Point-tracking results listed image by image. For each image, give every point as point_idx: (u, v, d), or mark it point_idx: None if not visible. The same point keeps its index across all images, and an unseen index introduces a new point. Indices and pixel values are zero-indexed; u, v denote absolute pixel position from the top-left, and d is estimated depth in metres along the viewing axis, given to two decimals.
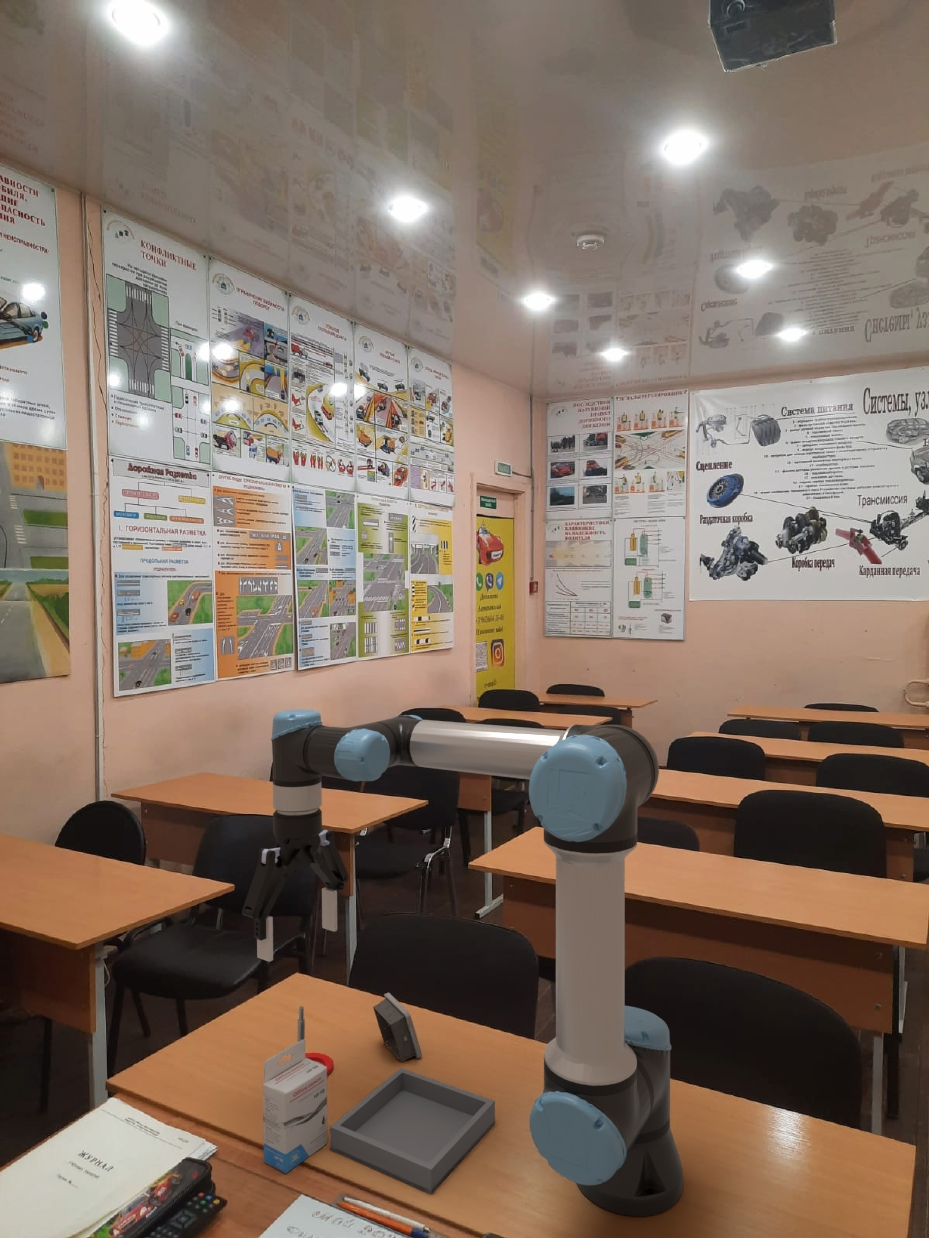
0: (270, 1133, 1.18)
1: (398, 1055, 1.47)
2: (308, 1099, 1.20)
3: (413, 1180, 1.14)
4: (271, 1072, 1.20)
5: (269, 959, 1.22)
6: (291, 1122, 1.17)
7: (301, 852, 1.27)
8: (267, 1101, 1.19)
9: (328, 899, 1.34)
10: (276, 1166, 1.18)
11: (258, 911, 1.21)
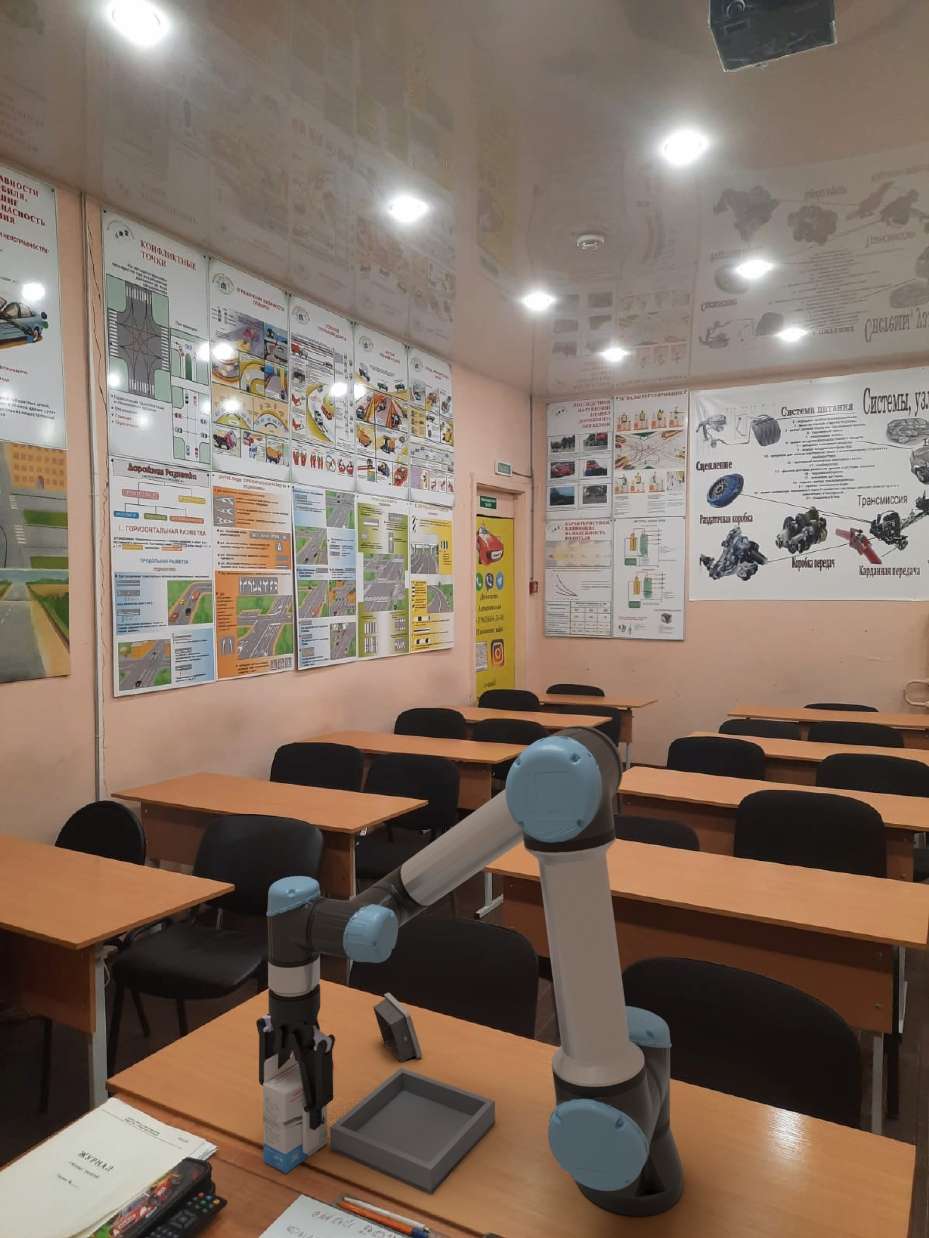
0: (270, 1133, 1.18)
1: (398, 1055, 1.47)
2: None
3: (413, 1180, 1.14)
4: (271, 1072, 1.20)
5: None
6: (291, 1122, 1.17)
7: (279, 1030, 1.20)
8: (267, 1101, 1.19)
9: None
10: (276, 1166, 1.18)
11: (263, 1078, 1.23)
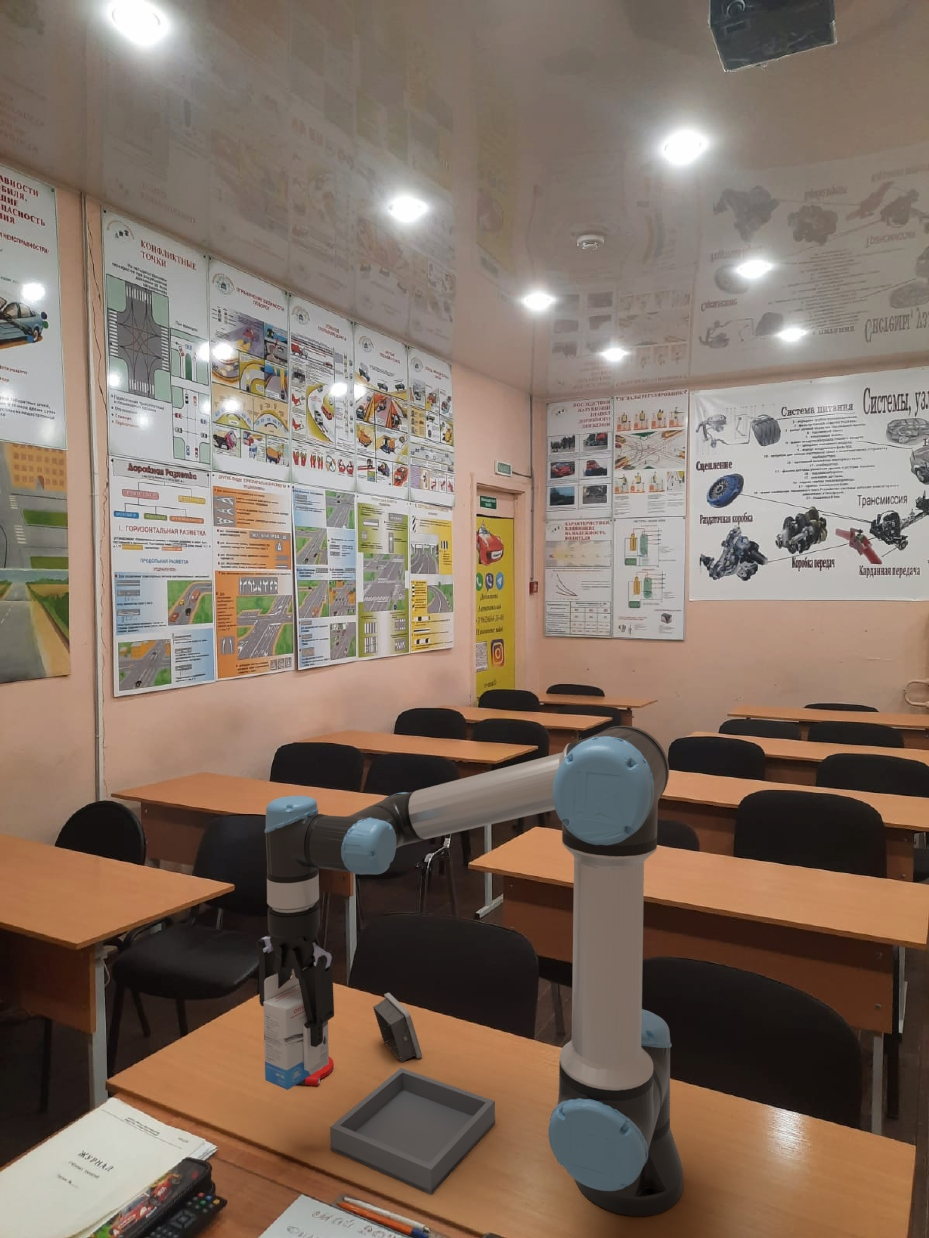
0: (270, 1050, 1.18)
1: (398, 1055, 1.47)
2: None
3: (413, 1180, 1.14)
4: (271, 990, 1.20)
5: None
6: (292, 1038, 1.17)
7: (279, 948, 1.20)
8: (268, 1019, 1.18)
9: None
10: (277, 1083, 1.17)
11: (263, 999, 1.23)
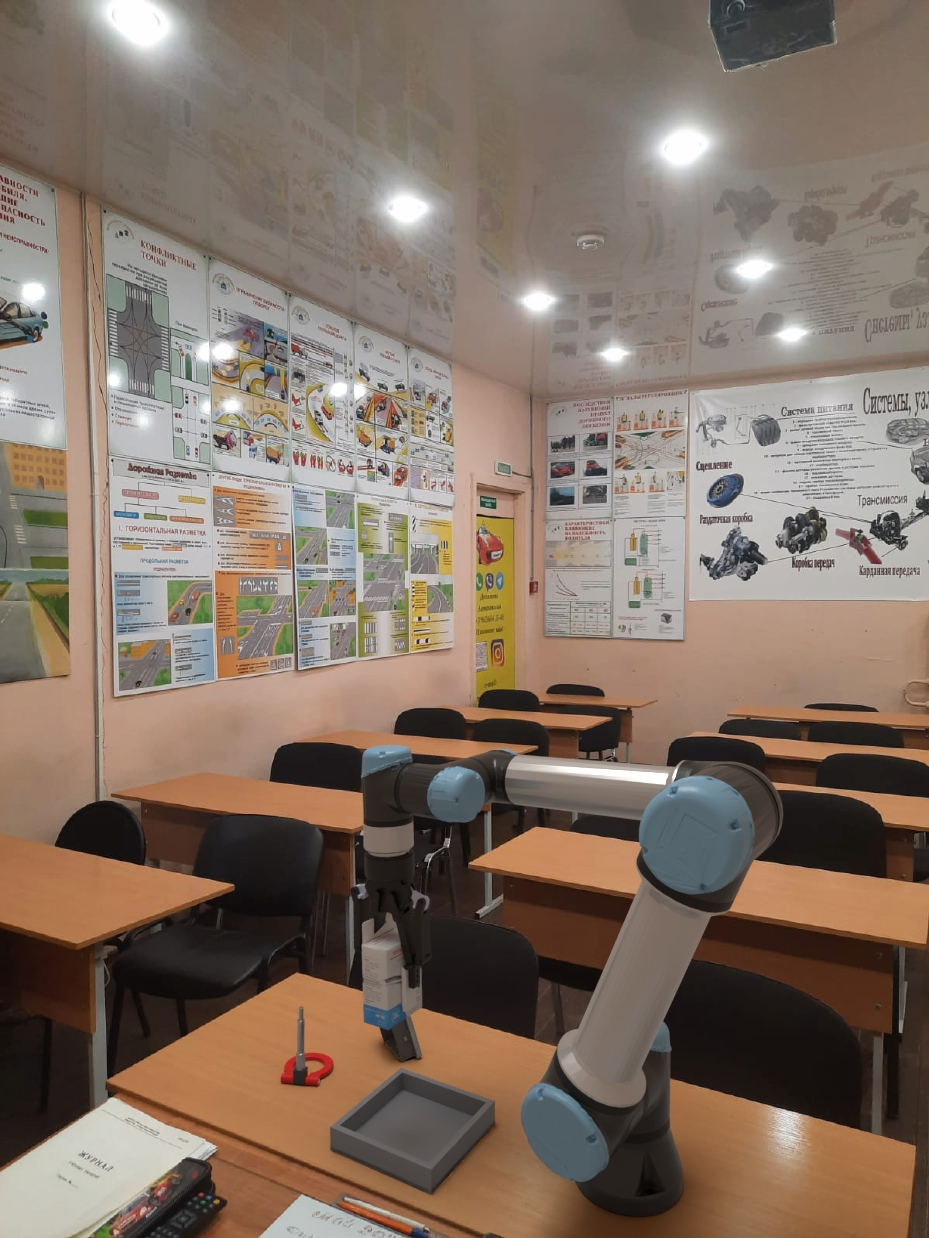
0: (370, 992, 1.20)
1: (398, 1055, 1.47)
2: None
3: (413, 1180, 1.14)
4: (368, 934, 1.22)
5: None
6: (392, 980, 1.20)
7: (376, 893, 1.22)
8: (366, 961, 1.21)
9: None
10: (377, 1024, 1.20)
11: (358, 945, 1.25)
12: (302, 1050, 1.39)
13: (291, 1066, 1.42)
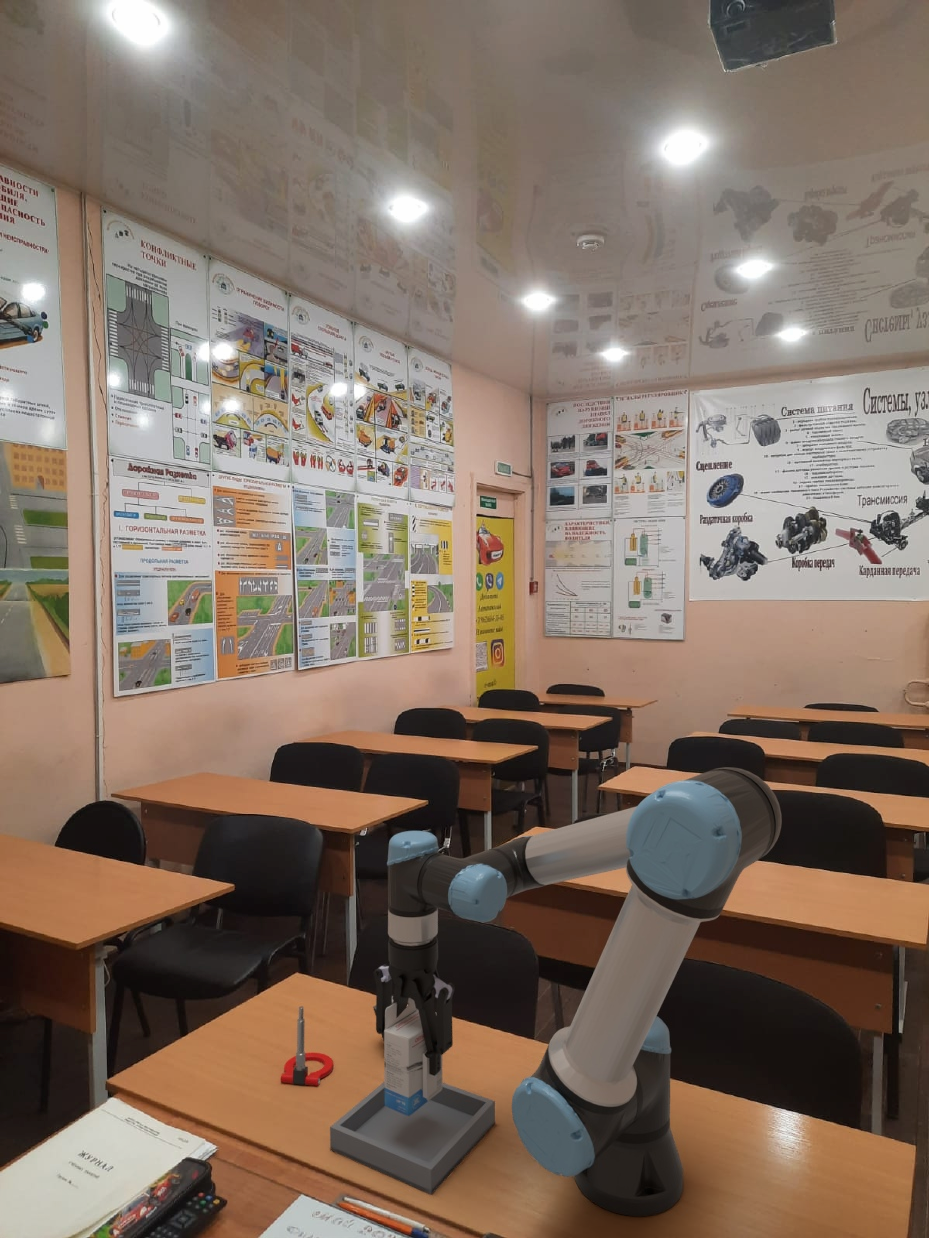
0: (391, 1077, 1.22)
1: None
2: None
3: (413, 1180, 1.14)
4: (391, 1019, 1.24)
5: None
6: (413, 1067, 1.21)
7: (399, 979, 1.23)
8: (389, 1047, 1.22)
9: None
10: (398, 1109, 1.21)
11: (380, 1027, 1.26)
12: (302, 1050, 1.39)
13: (291, 1066, 1.42)
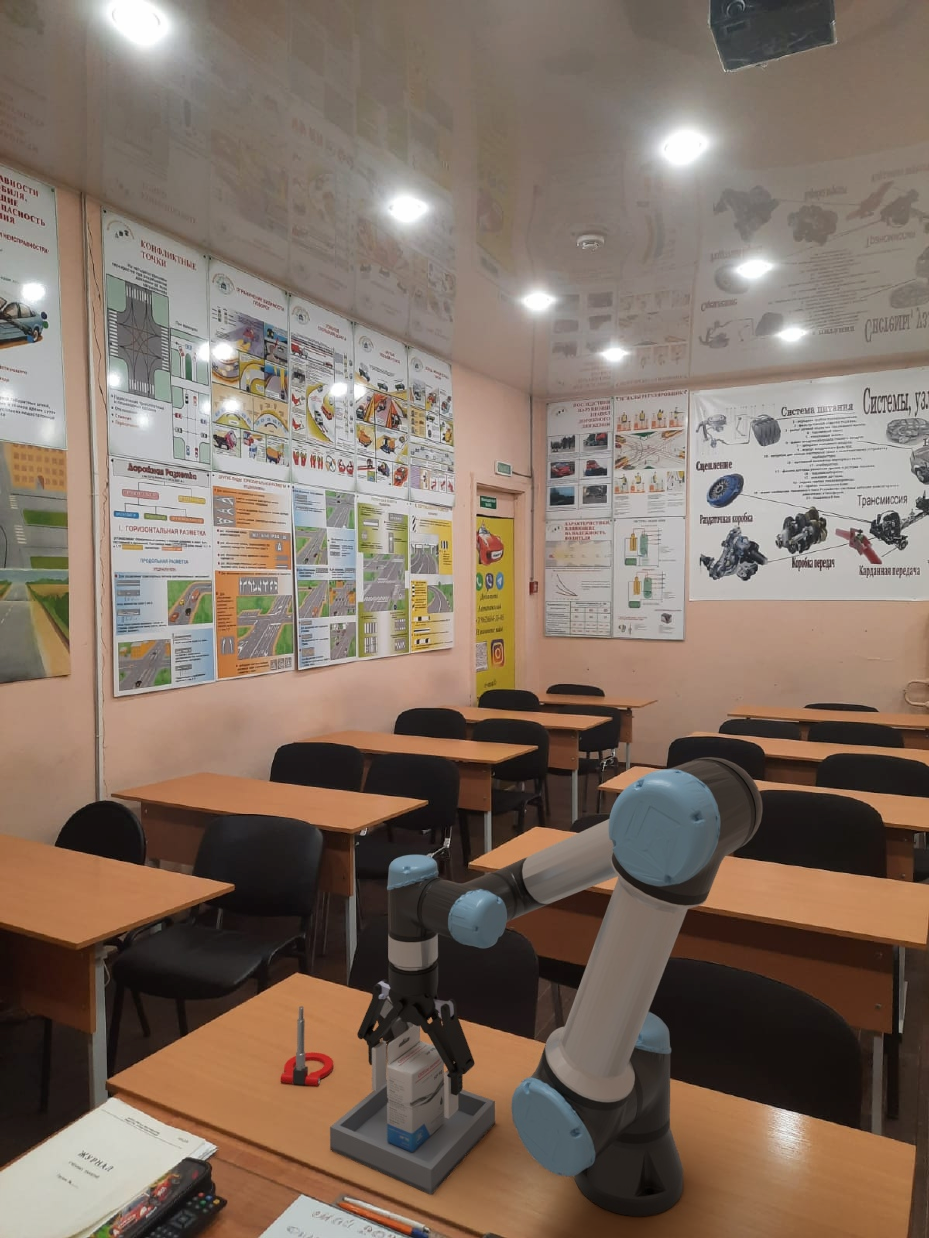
0: (394, 1113, 1.22)
1: None
2: (430, 1080, 1.24)
3: (413, 1180, 1.14)
4: (393, 1054, 1.24)
5: (372, 1087, 1.27)
6: (416, 1102, 1.21)
7: (400, 1004, 1.23)
8: (391, 1083, 1.22)
9: None
10: (401, 1145, 1.21)
11: (362, 1034, 1.28)
12: (302, 1050, 1.39)
13: (291, 1066, 1.42)
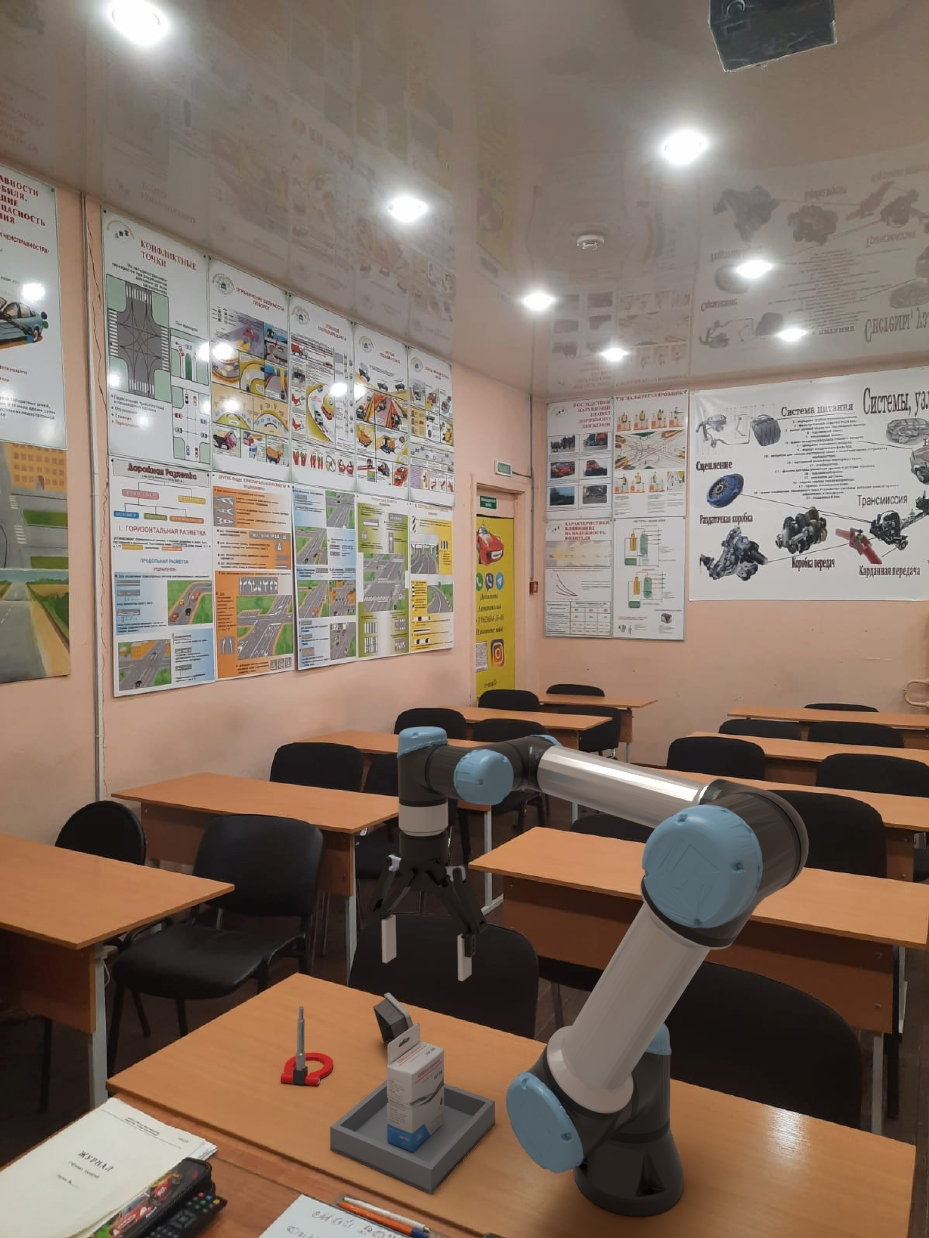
0: (394, 1113, 1.22)
1: None
2: (430, 1080, 1.24)
3: (413, 1180, 1.14)
4: (393, 1054, 1.24)
5: (383, 960, 1.28)
6: (416, 1102, 1.21)
7: (411, 872, 1.24)
8: (391, 1083, 1.22)
9: None
10: (401, 1145, 1.21)
11: (372, 907, 1.28)
12: (302, 1050, 1.39)
13: (291, 1066, 1.42)
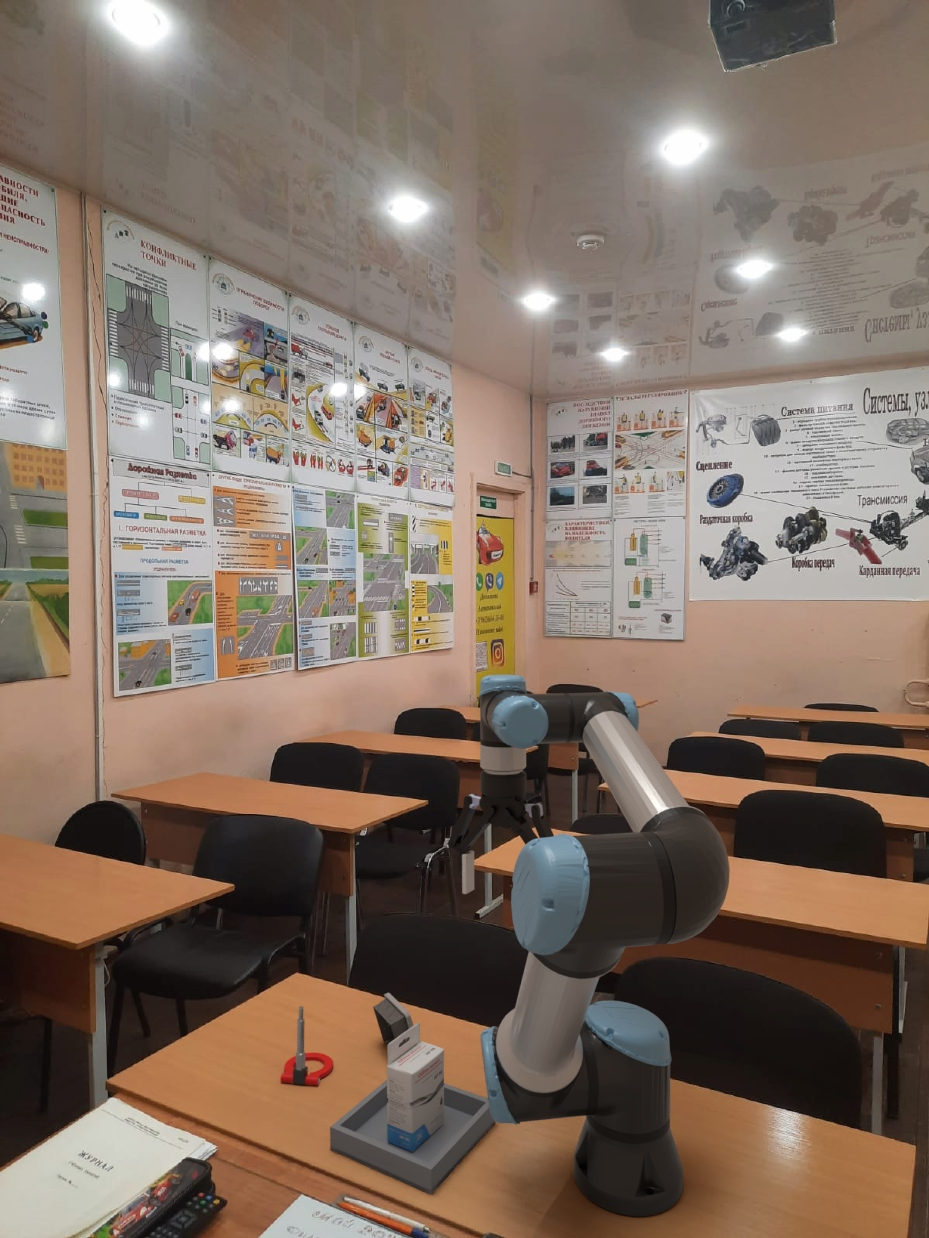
0: (394, 1113, 1.22)
1: None
2: (430, 1080, 1.24)
3: (413, 1180, 1.14)
4: (393, 1054, 1.24)
5: (462, 891, 1.37)
6: (416, 1102, 1.21)
7: (491, 809, 1.33)
8: (391, 1083, 1.22)
9: None
10: (401, 1145, 1.21)
11: (453, 843, 1.38)
12: (302, 1050, 1.39)
13: (291, 1066, 1.42)
